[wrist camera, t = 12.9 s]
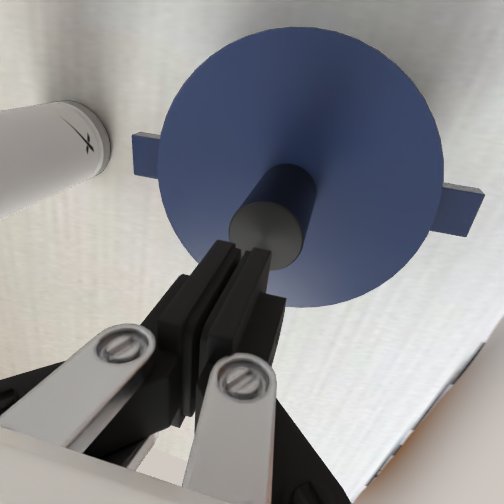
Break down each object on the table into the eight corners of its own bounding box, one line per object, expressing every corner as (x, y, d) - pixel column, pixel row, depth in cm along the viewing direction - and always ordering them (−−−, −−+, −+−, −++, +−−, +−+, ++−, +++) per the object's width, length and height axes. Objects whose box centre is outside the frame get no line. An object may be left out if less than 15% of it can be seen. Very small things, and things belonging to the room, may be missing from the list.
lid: (164, 12, 17) (70, -8, 12) (491, 48, 15) (574, 45, 9) (168, 268, 25) (111, 333, 19) (389, 320, 22) (401, 411, 17)
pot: (186, 28, 25) (115, 17, 18) (485, 62, 22) (550, 67, 14) (184, 212, 32) (133, 259, 24) (412, 258, 28) (431, 328, 21)
